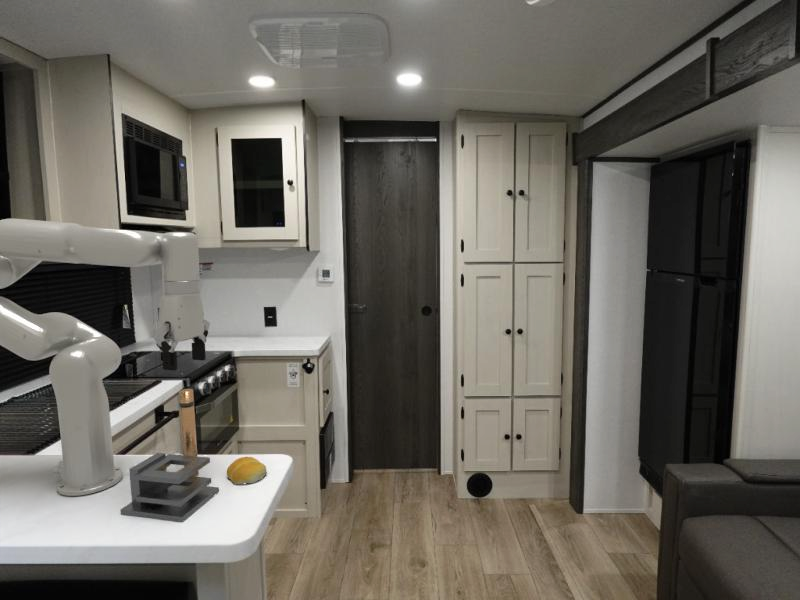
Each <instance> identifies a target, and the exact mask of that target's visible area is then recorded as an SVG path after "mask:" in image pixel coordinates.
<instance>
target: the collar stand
mask: <svg viewBox="0 0 800 600" xmlns="http://www.w3.org/2000/svg"><path fill="white" fill-rule="evenodd" d="M210 462H211V458H210V457H208V456H198V455H197V456H186V455H183V454H173V453H167V454H166V453H161V452H157V453H155V454H153V455H151V456H150V457H148V458H146V459H145V460H143V461H142V462H140V463H137V464H136V465H134V466H133V467H131V468H129V472H128V473H129V482H130V484H129V485H130V495H131V502H129V503H128V504H126V505H124V507H122V508H120V515H123V516H132V517H138V518H139V517H140V518H147V519H153V520H155V519H156V520H161V521H162V520H163V521H172V522H180V523H183V522H185V520H187V519H189V518H190V517H191V516H192V515H193V514H194V513H195V512H197V511H198V510H199V509H200V508H201V507H203V506H205V504H206V503H207V502H208V501H210V500H211V499H212V498H213V497H215V496H216V495H217V494H219V492H220V488H219V486H209V485H210V484H211V483H212V478H211V477H207V476H206V477H205V476H191V475H193V474H194V473H196V472H197V471H198V472H199V471H200V470H201V469H203V468H204V467H206V466H207V465H208V464H210ZM171 465H175V466H183V467H181V468H180V469H178V470H177V471H176V472H174V471H167V468H168V467H169V466H171ZM184 466H185V467H184ZM215 494H216V495H215ZM214 495H215V496H214Z"/></svg>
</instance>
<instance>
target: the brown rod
mask: <svg viewBox="0 0 800 600" xmlns="http://www.w3.org/2000/svg"><path fill="white" fill-rule="evenodd" d="M194 398H195V397H194V389H193V388H183V389H180V390H178V400H179V401H178V403H179V413H180V415H179V416H180V429H181V442H182V444H181V446H182V455H186V456H197V457H198V448H197V447H198V446H197V429H196V415H195V414H196V413H195V399H194ZM183 467H185V466H184V465H183ZM198 475H199V470H198V471H197V472H196V473H194V474H193V475H191V476H196V477H198Z"/></svg>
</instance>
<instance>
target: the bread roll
mask: <svg viewBox="0 0 800 600" xmlns="http://www.w3.org/2000/svg"><path fill="white" fill-rule="evenodd" d="M266 474H267V466H266V465H265V464H264V463H263V462H260V461H259V460H258V459H256V458H255V457H252V456H244V457H239V458H237V459H235V460H234V461H232V462H231V463H230V465H229V466H228V467H227V469H226V476H227V478H228V479H229V480H230V479H231V480H230V481H232V483H233V482H234V483H233V484H235V485H245V484H244V483H251V484H254V483H253V482H255V483H257V482H259V481H261V480H262V479H263V478H264V477H265V476H266ZM260 479H261V480H260ZM258 480H259V481H258ZM256 481H257V482H256Z"/></svg>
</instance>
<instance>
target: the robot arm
mask: <svg viewBox="0 0 800 600" xmlns="http://www.w3.org/2000/svg"><path fill="white" fill-rule="evenodd" d="M198 239H199V238H198V237H197V234H195V233H193V232H186V231H184V232H183V231H182V232H181V231H178V232H177V231H174V232H173V231H171V232H165V233H163V232H156V231H155V232H153V231H145V230H132V229H130V230H129V229H117V228H103V227H91V226H84V225H81V224H79V223H75V222H63V221H62V222H61V221H50V220H49V221H48V220H39V219H36V220H35V219H24V218H13V217H12V218H5V219H1V220H0V289H5V288H7V287H9V286H11V285H13V284H14V283H16V282H17V281H19V280H20V279H22V277H23V276H25V275H27V274H28V273H29V272H30V271H31V270H32V269H34V268H35V267H37V266H38V265H39V264H40V263H42V262H55V263H64V264H65V263H68V264H76V265H77V264H85V265H97V266H98V265H99V266H111V267H124V268H138V267H148V266H155V265H161V273H162V274H161V276H162V279H161V280H162V293H163V295H162V296H161V297H160V301H159V308H158V329H157V330H156V331H155V332H154V333H153V334H152V335H153V339H154V341H155V343H156V347H157V348H159V352H160V353H161V358H162V369H163V370H164V371H177V370H178V353H177V351H175V349H176V348H177V346H178V344H179V343H181V342H185V341H188V340H192V341H193V342H191V358H192V360H193V361H205V360H206V357H207V356H206V343H207V337H208V334H209V329H210V328H209V327H210V324H211V323H210V321H208V320H206V319H205V315H204V314H205V312H204V307H203V306H204V305H203V299H202V296H201V284H200V281H201V280H200V279H201V278H200V257H199V255H200V254H199V240H198ZM169 343H170V344H169ZM0 346H1V347H3V348H4V349H7V350H8V351H9V352H12V353H13V354H15V355H17V356H18V357H21V358H22V359H25V360H27V361H40V360H44V359H47V358H49V357H53V356H54V357H53V358H52V360H51V362H50V365H49V379H50V380H49V381H50V383H51V385H52V388H53V391H54V396H55V400H56V406H57V415H58V423H59V424H58V425H59V433H60V443H61V453H62V454H61V455H62V460H60V461H58V463H57V466H56V467H54V468H53V469H52V473H53V474H59V475H60V477H61V480H59V481H58V483H56V484H57V485H56V490H57V493H58V494H60V495H63V496H67V497H78V496H85V495H90V494H94V493H98V492H100V491H101V492H102V491H103V490H106V489H109V488H112V487H113V486H114V485H117V483H119V482H120V481H121V479H123V476H124V472H123V469H122V468H120V467H118V466H116V465H115V461H114V449H113V437H112V425H111V414H110V406H109V405H110V403H109V399H108V398H109V397H108V394H107V391H106V389H105V386H104V382H103V379H105V378H106V377H109V376H110V375H111V374H112V373H114V372H116V370H117V369H118V368H119V366H120V365H121V362H122V353H121V348H120V347H119V345H117V343H116V342H115V341H113V340H112V339H111V338H109V337H108V336H107V335H105V334H103V333H102V332H100V331H98V330H96V329H95V328H94V327H92V326H90V325H88V324H86V323H85V322H83V321H81V320H80V319H78V318H76V317H75V316H73V315H69V314H68V313H64V312H58V311H57V312H55V311H54V312H51V311H50V312H47V313H45V312H44V313H43V314H42V313H41V314H37V313H35V312H34V313H33V312H31V311H30V310H27V309H26V308H24V307H23V306H21V305H18V304H17V303H15V302H14V301H12V300H11V299H8V298H6V297H4V296H1V295H0Z"/></svg>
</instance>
